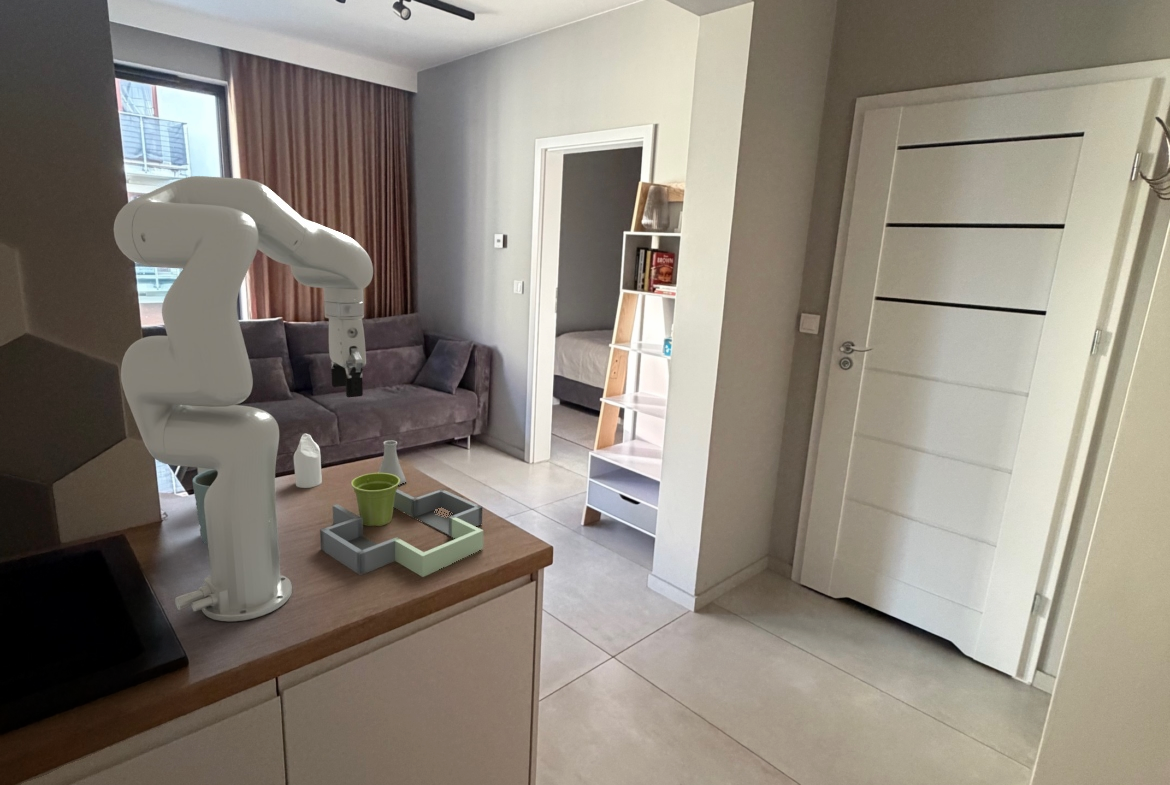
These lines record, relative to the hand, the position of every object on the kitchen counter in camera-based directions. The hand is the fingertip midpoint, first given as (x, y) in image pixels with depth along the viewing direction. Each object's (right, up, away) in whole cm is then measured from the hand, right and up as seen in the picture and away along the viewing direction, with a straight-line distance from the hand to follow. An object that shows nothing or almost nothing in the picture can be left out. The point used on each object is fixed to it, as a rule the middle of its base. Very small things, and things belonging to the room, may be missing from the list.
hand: (346, 391), depth 130 cm
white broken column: (-14, -22, +13) cm, 29 cm away
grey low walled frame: (+16, -29, -9) cm, 34 cm away
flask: (+4, -22, +17) cm, 28 cm away
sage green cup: (-17, -28, -13) cm, 35 cm away
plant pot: (+7, -27, -3) cm, 28 cm away
